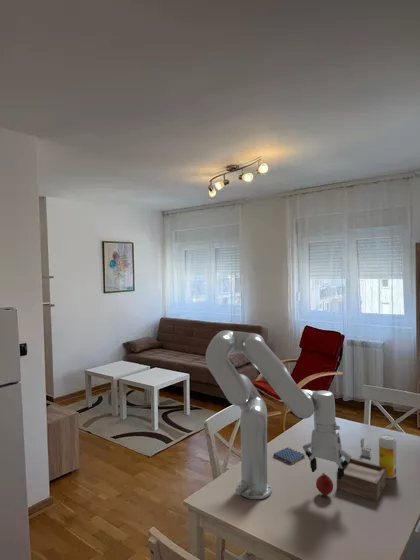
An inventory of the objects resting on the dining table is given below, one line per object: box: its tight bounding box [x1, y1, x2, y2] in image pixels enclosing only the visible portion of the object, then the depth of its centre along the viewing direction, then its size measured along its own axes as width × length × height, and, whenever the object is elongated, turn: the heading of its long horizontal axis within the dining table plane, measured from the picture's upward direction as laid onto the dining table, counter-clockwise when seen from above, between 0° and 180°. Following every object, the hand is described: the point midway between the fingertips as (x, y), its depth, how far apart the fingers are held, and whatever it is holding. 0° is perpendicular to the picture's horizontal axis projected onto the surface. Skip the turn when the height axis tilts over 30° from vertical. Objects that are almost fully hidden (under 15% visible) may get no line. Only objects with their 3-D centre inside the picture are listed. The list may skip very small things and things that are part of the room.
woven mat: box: [272, 446, 306, 466], centre depth 165 cm, size 10×11×2 cm
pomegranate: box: [315, 472, 334, 497], centre depth 136 cm, size 6×6×8 cm
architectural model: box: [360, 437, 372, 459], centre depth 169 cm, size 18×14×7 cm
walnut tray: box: [336, 457, 387, 502], centre depth 142 cm, size 14×14×6 cm
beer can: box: [378, 434, 397, 480], centre depth 150 cm, size 6×6×15 cm
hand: (327, 474), depth 136 cm, fingers open, 9 cm apart
